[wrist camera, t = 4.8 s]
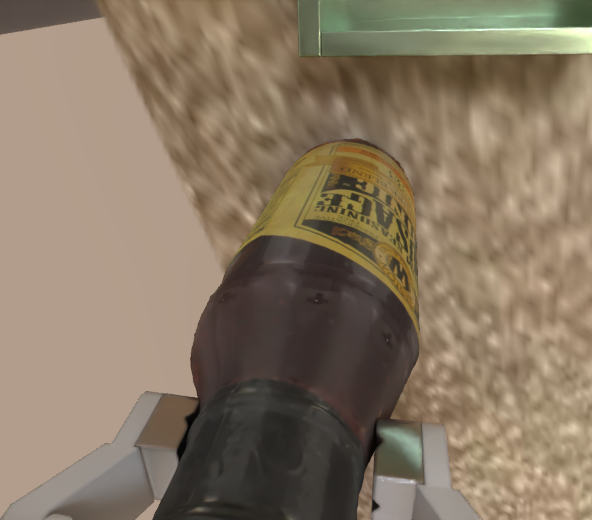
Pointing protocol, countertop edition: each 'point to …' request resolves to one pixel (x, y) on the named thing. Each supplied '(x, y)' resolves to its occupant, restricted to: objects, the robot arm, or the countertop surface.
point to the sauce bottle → (304, 345)
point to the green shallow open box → (443, 27)
